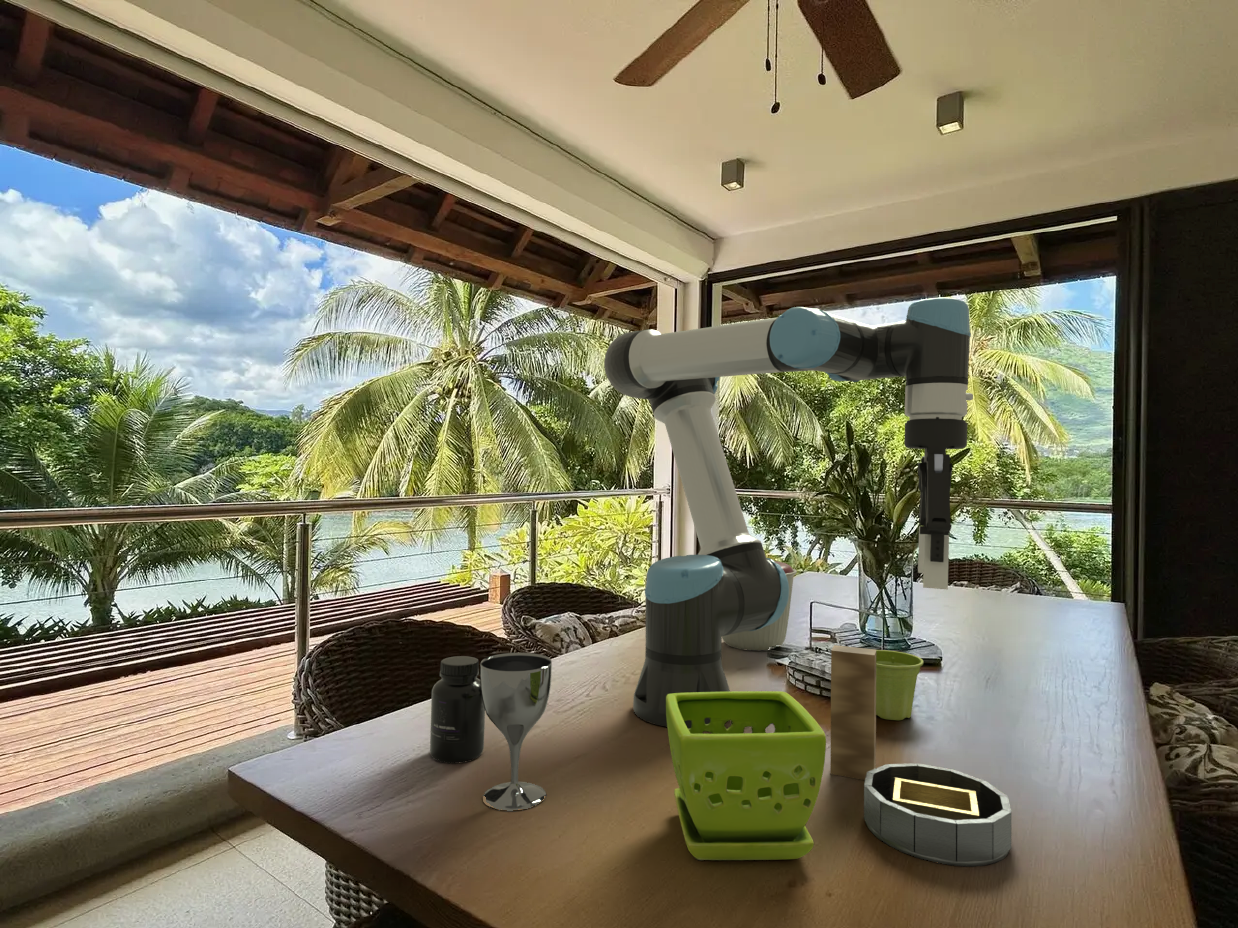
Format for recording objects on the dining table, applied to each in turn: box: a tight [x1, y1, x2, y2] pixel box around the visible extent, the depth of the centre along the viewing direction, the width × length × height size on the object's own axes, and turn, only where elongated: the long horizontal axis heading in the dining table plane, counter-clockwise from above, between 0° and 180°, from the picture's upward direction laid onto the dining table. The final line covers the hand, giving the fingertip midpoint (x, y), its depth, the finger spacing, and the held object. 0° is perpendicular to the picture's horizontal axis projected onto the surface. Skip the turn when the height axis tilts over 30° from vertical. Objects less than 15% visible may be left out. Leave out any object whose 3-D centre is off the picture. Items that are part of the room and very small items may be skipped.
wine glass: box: [479, 652, 553, 812], centre depth 78 cm, size 8×8×15 cm
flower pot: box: [666, 690, 827, 861], centre depth 70 cm, size 14×14×13 cm
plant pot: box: [875, 649, 924, 721], centre depth 107 cm, size 9×9×9 cm
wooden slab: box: [829, 644, 877, 781], centre depth 86 cm, size 5×3×15 cm, turn 66°
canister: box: [722, 560, 798, 651], centre depth 150 cm, size 18×18×21 cm
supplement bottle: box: [429, 655, 486, 764], centre depth 90 cm, size 7×7×12 cm
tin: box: [863, 762, 1012, 867], centre depth 72 cm, size 14×14×4 cm
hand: (931, 580), depth 92 cm, fingers open, 13 cm apart
